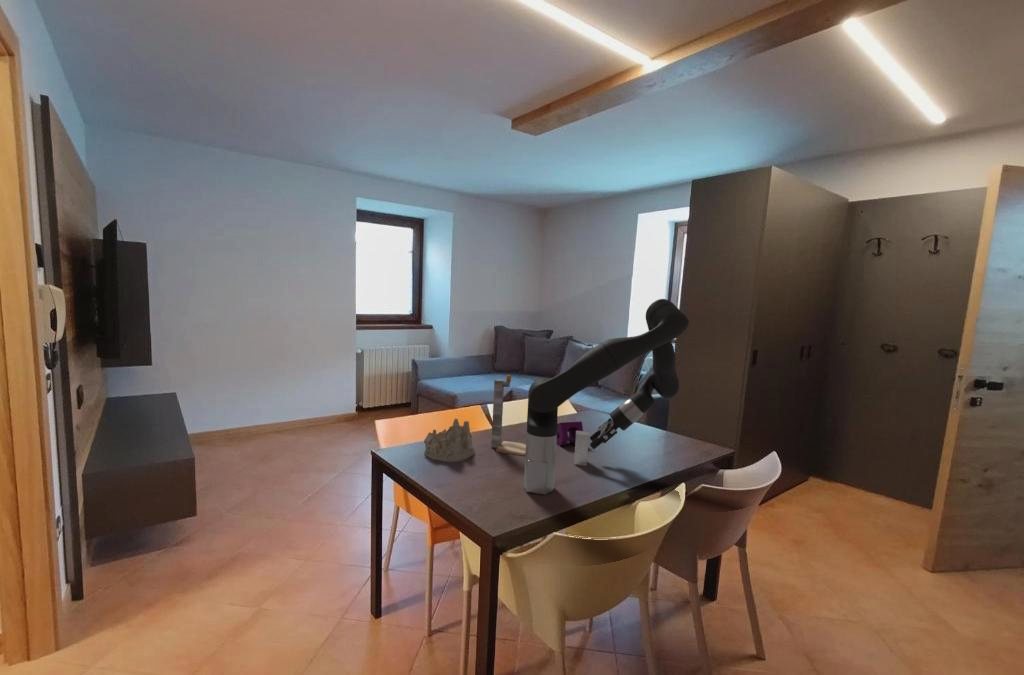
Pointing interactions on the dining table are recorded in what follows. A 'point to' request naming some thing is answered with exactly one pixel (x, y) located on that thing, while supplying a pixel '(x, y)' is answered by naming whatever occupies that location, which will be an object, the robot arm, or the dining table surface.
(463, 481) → the dining table surface
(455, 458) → the gray sandcastle
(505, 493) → the dining table surface
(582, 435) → the gray rectangular block
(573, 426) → the mounting bracket
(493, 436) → the keeper
